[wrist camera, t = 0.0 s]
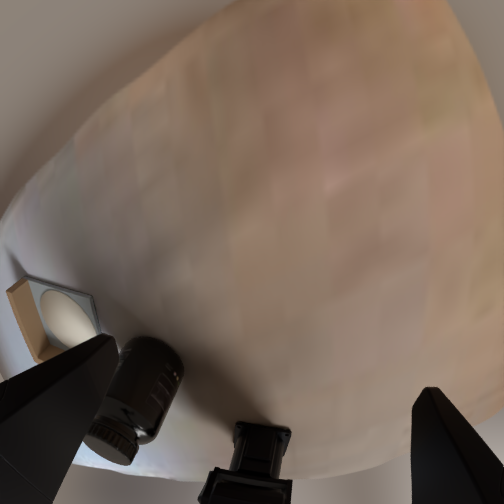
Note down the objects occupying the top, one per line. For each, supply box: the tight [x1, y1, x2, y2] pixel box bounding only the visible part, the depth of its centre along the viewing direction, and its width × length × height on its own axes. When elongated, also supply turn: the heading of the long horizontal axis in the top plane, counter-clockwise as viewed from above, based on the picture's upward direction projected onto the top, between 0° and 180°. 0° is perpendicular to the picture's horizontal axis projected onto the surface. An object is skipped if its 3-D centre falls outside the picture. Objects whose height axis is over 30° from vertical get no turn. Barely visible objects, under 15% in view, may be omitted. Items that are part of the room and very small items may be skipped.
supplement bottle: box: [83, 337, 184, 466], centre depth 25 cm, size 7×7×12 cm
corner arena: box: [6, 276, 101, 364], centre depth 30 cm, size 11×11×4 cm
